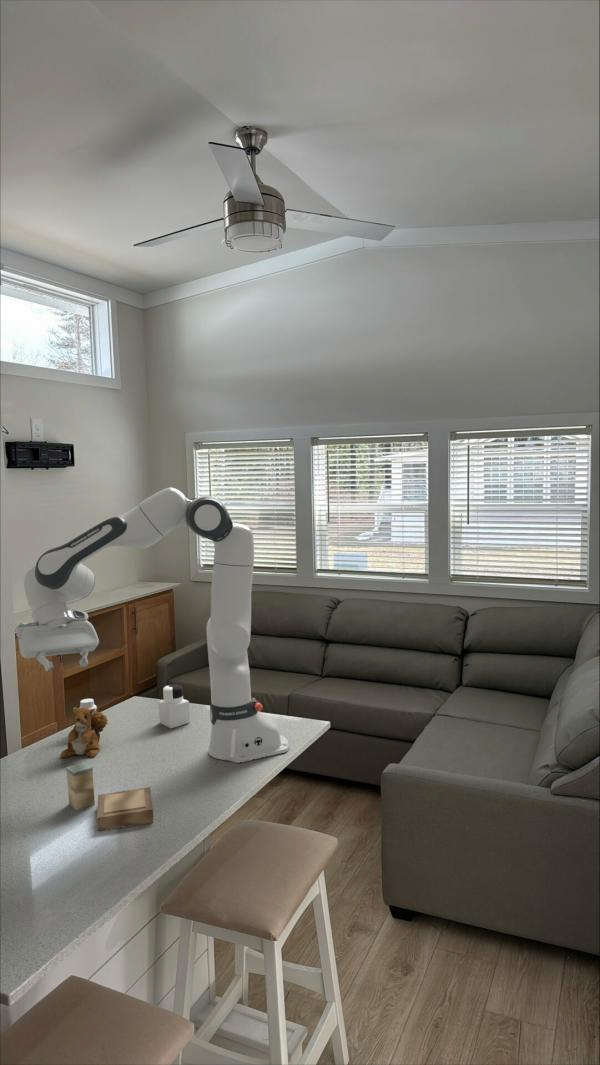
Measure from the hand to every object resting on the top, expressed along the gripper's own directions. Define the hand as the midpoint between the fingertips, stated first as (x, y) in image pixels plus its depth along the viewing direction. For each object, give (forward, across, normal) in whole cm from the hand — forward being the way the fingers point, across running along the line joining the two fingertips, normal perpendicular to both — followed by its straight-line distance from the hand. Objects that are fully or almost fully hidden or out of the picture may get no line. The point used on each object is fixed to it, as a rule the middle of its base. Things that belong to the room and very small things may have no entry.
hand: (67, 667), depth 179 cm
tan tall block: (+32, -2, +10) cm, 33 cm away
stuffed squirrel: (+11, +16, +32) cm, 38 cm away
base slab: (+39, +2, 0) cm, 39 cm away
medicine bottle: (+10, +45, +29) cm, 55 cm away
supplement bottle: (+2, +24, +41) cm, 47 cm away
